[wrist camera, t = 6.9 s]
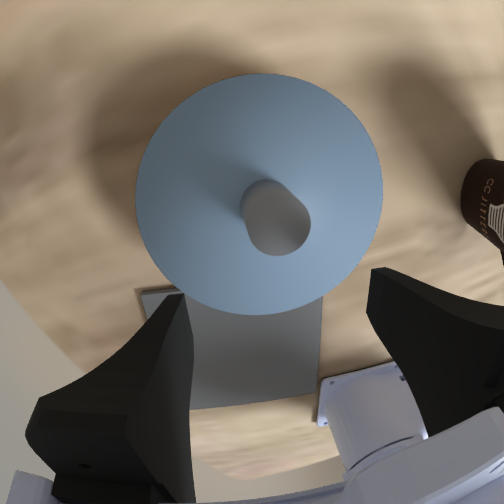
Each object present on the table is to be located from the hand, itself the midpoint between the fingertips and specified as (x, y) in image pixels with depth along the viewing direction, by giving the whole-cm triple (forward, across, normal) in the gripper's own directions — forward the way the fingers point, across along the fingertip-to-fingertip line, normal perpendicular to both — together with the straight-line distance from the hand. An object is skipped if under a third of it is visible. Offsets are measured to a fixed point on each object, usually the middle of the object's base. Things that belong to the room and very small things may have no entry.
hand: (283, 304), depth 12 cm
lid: (+6, 0, -2) cm, 6 cm away
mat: (+10, +2, +11) cm, 15 cm away
